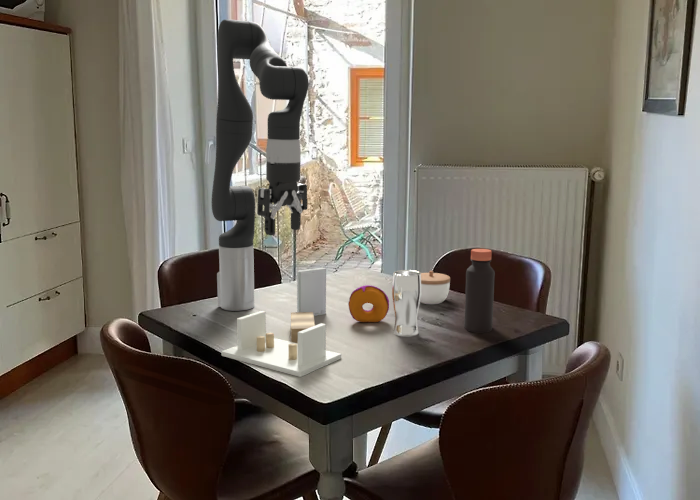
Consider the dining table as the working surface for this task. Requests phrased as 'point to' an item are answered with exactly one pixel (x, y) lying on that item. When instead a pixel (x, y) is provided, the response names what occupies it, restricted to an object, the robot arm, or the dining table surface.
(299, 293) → the external hard drive
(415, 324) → the beer glass
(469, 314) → the bottle
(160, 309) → the dining table surface
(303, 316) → the plank
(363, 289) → the donut
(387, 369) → the dining table surface
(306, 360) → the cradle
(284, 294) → the dining table surface
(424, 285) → the lidded jar
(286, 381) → the dining table surface
